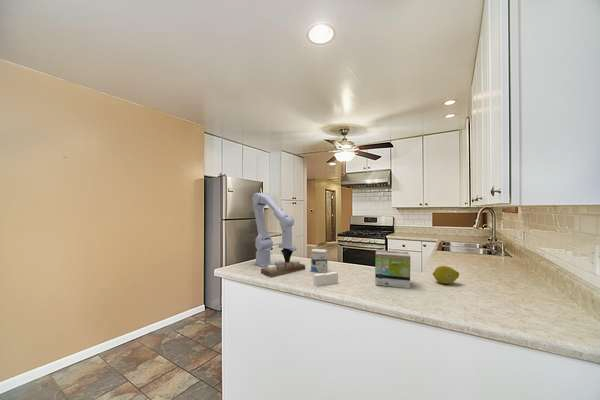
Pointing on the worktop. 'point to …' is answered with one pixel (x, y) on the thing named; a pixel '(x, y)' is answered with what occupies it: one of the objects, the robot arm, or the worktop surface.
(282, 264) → the grey key
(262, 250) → the robot arm
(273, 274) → the brown wooden long tray
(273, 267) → the white key
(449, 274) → the lemon
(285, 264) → the terracotta key
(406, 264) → the tea box
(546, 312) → the worktop surface
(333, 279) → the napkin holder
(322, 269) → the ink box
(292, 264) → the pale green block
